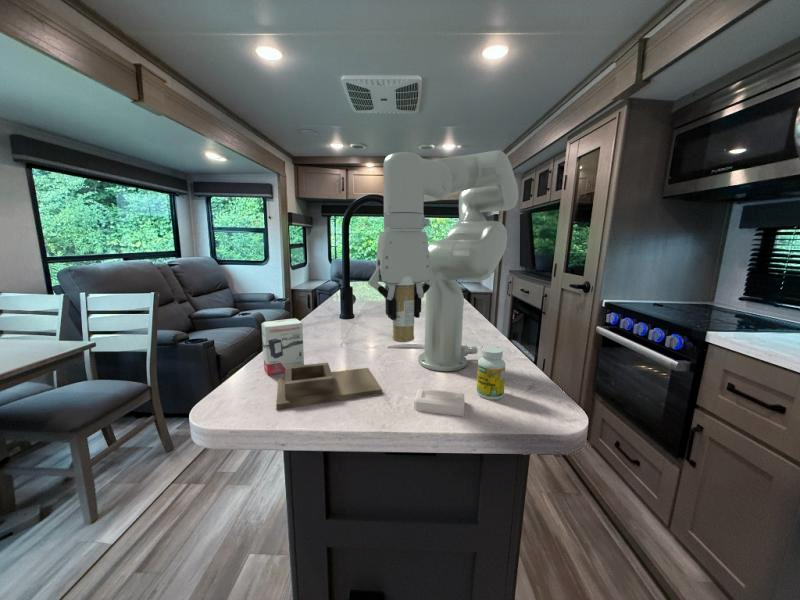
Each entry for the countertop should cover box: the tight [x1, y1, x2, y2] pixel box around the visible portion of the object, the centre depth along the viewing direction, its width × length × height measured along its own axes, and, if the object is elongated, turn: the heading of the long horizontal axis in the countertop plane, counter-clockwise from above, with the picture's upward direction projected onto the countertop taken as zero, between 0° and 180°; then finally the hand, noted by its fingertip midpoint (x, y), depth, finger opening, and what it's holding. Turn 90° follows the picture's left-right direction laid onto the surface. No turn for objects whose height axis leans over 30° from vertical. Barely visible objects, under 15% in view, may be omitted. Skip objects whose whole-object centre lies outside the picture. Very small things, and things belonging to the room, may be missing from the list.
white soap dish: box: [413, 388, 465, 417], centre depth 57 cm, size 5×9×2 cm, turn 78°
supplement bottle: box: [476, 346, 506, 401], centre depth 61 cm, size 5×5×10 cm
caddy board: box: [275, 362, 383, 410], centre depth 64 cm, size 20×12×4 cm, turn 110°
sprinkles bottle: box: [392, 276, 415, 343], centre depth 61 cm, size 5×5×14 cm
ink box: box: [261, 318, 305, 376], centre depth 73 cm, size 8×5×12 cm, turn 123°
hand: (403, 316), depth 61 cm, fingers closed on sprinkles bottle, 4 cm apart
